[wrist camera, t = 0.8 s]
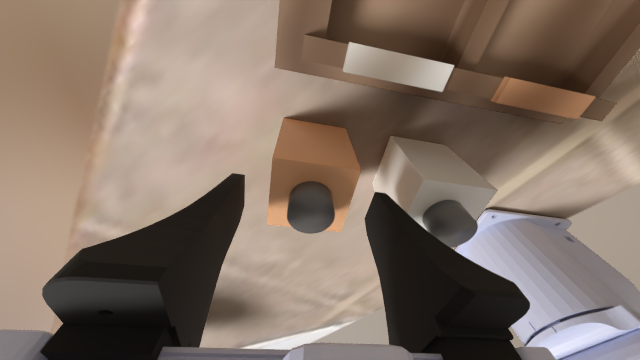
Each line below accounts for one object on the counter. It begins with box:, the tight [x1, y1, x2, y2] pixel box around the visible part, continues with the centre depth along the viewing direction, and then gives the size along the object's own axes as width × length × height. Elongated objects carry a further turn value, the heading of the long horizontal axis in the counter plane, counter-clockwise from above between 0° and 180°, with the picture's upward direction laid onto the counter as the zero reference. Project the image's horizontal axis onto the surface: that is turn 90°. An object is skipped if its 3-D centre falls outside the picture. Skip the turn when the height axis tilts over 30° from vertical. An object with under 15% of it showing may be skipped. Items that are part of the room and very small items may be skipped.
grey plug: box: [372, 136, 498, 247], centre depth 16 cm, size 4×4×7 cm
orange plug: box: [267, 118, 361, 233], centre depth 15 cm, size 4×4×7 cm
